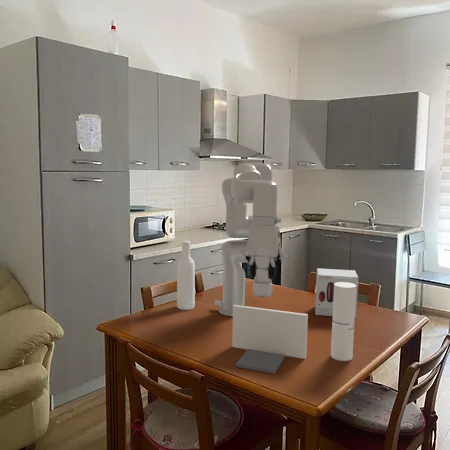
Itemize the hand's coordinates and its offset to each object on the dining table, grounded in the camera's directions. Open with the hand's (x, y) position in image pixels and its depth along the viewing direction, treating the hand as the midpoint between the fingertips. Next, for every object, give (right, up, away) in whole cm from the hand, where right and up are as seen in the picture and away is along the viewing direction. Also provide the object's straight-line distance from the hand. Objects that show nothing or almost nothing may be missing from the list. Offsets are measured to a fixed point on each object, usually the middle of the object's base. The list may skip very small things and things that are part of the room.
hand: (262, 276), depth 151 cm
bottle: (-30, -20, +61) cm, 71 cm away
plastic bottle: (0, -7, +1) cm, 7 cm away
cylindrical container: (+27, -28, +9) cm, 40 cm away
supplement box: (+36, -22, +57) cm, 71 cm away
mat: (0, -28, +4) cm, 29 cm away
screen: (+3, -27, +12) cm, 30 cm away
